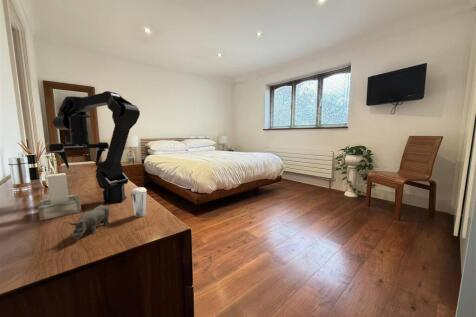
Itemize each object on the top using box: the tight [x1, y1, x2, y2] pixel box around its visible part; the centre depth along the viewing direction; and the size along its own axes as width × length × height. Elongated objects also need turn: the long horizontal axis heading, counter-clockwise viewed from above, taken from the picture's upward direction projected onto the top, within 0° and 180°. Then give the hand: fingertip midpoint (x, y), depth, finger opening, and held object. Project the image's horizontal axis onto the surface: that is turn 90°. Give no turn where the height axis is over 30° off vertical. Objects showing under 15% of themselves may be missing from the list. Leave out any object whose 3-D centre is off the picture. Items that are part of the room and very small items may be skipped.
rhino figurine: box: [69, 204, 110, 240], centre depth 52 cm, size 4×14×6 cm, turn 2°
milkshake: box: [127, 185, 148, 218], centre depth 63 cm, size 4×5×10 cm
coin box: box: [38, 193, 82, 221], centre depth 67 cm, size 10×10×4 cm
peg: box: [46, 172, 70, 205], centre depth 66 cm, size 4×4×13 cm
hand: (82, 167), depth 81 cm, fingers open, 9 cm apart
